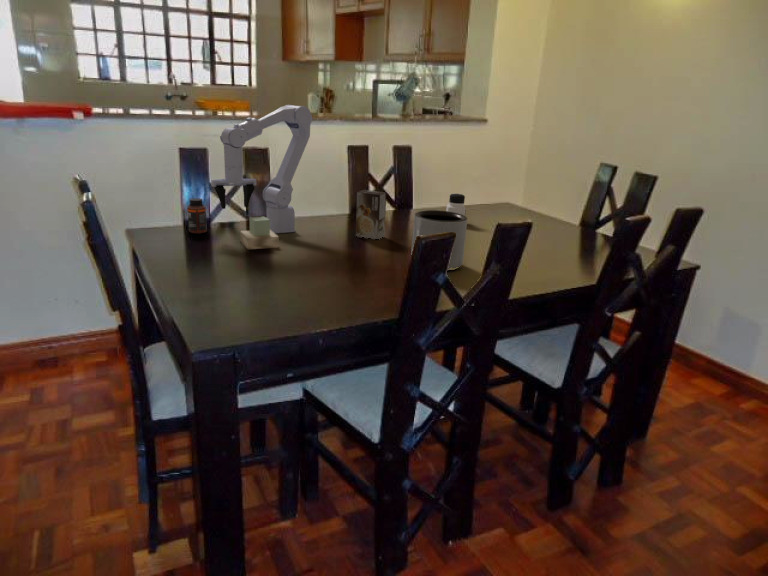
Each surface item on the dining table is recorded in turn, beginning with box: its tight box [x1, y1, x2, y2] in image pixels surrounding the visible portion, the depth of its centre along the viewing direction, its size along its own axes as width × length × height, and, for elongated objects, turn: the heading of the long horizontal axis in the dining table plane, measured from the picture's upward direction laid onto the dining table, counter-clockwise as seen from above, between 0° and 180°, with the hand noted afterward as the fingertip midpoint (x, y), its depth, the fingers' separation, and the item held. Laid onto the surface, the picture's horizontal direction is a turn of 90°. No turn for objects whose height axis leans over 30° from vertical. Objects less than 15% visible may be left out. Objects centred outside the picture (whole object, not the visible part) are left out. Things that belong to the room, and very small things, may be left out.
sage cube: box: [248, 216, 270, 236], centre depth 181 cm, size 5×5×5 cm
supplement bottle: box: [187, 198, 208, 234], centre depth 191 cm, size 6×6×11 cm
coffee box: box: [355, 189, 387, 240], centre depth 198 cm, size 9×6×16 cm
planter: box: [410, 209, 468, 269], centre depth 170 cm, size 16×16×16 cm
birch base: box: [239, 229, 280, 250], centre depth 183 cm, size 10×10×4 cm
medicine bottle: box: [445, 193, 467, 216], centre depth 229 cm, size 7×7×12 cm
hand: (234, 207), depth 187 cm, fingers open, 7 cm apart
